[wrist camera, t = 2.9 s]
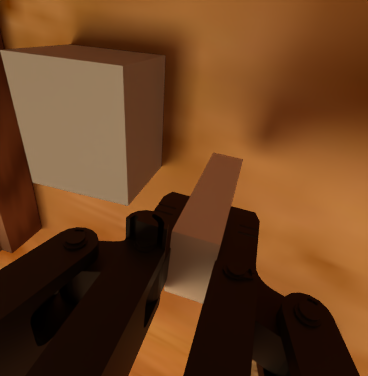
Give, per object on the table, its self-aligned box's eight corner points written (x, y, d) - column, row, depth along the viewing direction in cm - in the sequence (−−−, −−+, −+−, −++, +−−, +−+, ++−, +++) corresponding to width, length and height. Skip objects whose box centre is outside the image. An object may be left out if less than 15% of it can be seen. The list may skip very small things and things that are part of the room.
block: (71, 44, 19) (0, 50, 14) (166, 55, 18) (122, 65, 13) (84, 149, 23) (32, 182, 18) (161, 165, 22) (128, 205, 17)
